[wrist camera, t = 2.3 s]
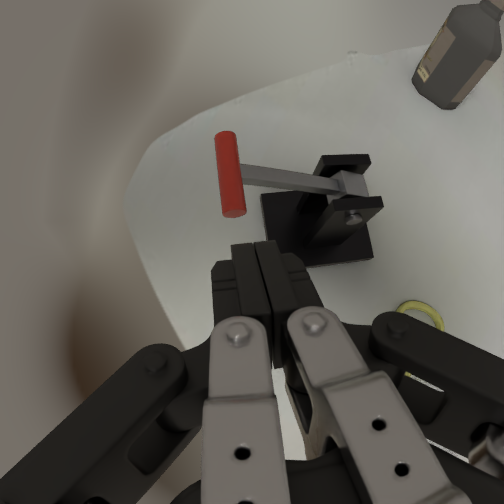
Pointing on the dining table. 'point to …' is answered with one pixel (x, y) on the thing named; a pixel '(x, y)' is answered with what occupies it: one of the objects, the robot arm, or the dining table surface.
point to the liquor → (460, 53)
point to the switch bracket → (322, 218)
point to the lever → (273, 179)
